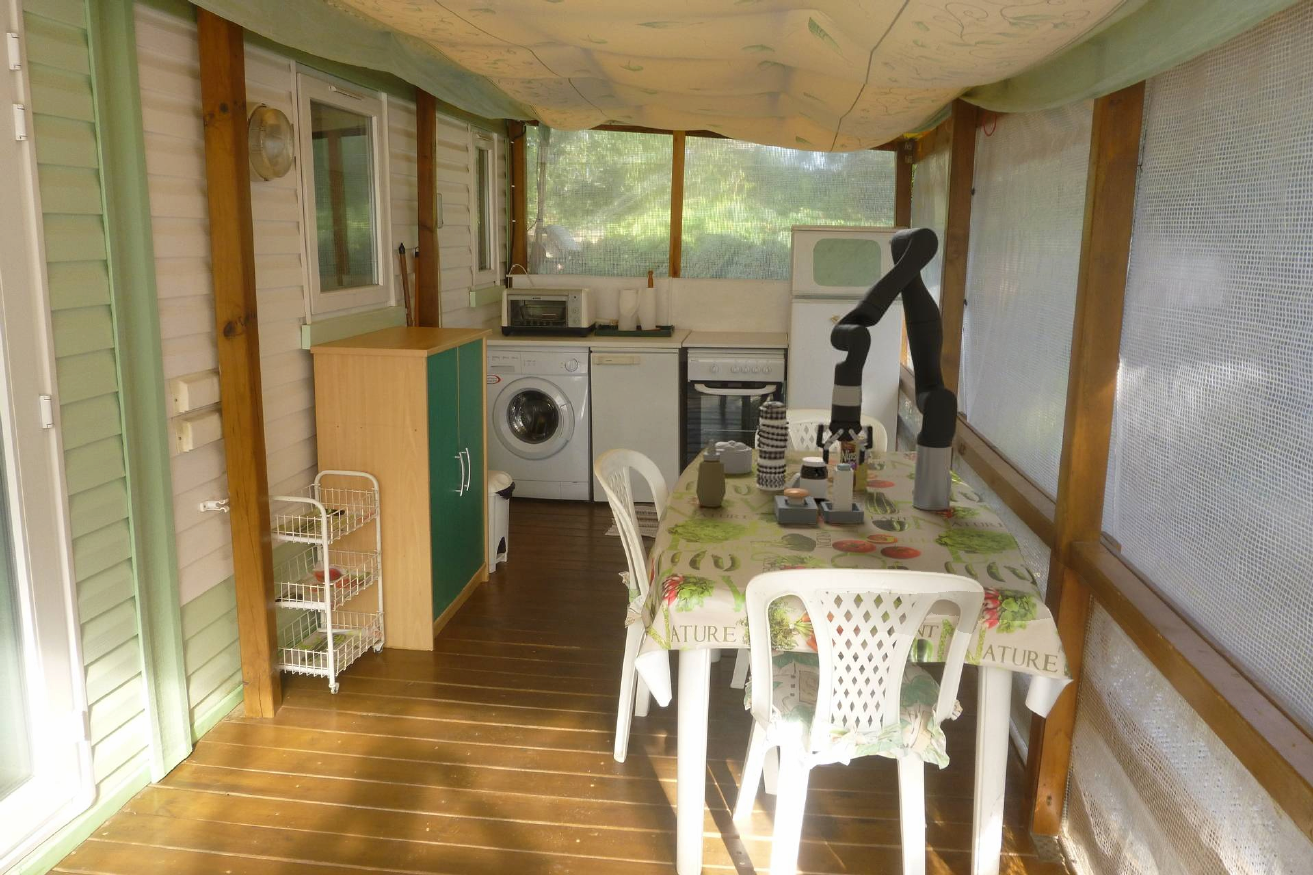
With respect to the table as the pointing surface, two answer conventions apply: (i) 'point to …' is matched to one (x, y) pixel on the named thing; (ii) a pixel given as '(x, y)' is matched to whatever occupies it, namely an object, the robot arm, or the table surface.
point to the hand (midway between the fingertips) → (843, 464)
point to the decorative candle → (772, 446)
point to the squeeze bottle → (711, 478)
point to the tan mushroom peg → (796, 496)
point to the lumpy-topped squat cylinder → (735, 457)
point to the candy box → (855, 462)
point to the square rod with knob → (842, 487)
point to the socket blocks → (815, 512)
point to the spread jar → (812, 478)
